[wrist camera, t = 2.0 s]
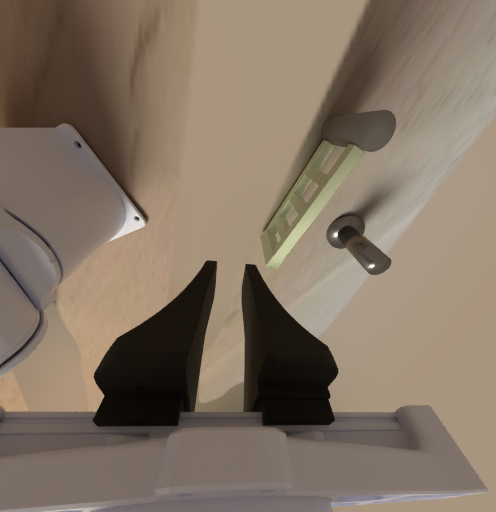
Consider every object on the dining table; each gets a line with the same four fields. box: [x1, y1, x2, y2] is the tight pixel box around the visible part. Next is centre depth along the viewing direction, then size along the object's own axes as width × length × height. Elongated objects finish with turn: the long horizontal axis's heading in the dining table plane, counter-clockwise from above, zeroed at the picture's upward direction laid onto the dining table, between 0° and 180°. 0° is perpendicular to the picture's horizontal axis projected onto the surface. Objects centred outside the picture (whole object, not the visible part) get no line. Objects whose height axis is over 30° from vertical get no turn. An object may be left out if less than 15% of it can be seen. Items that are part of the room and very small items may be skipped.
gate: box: [261, 110, 396, 270], centre depth 16 cm, size 12×2×6 cm, turn 152°
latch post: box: [327, 215, 391, 275], centre depth 19 cm, size 4×4×6 cm
